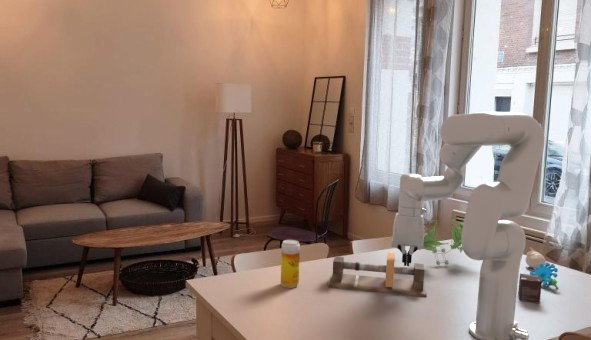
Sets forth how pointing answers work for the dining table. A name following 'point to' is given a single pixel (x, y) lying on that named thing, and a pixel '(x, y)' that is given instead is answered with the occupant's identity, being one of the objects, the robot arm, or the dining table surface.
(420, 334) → the dining table surface
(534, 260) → the garlic bulb
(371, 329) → the dining table surface
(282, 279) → the beer can
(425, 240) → the plant cuttings
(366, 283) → the pipe stand
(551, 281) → the blue lobed piece
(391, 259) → the collar
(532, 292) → the box
